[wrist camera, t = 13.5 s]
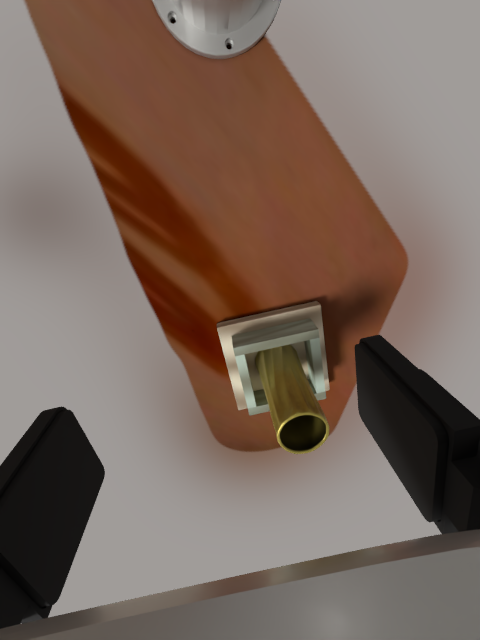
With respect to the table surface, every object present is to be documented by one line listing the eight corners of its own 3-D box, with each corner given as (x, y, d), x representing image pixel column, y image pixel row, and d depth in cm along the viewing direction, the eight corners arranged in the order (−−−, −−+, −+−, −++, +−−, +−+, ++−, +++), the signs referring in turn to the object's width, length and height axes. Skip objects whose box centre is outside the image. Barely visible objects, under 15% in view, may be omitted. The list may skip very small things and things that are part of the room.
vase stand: (216, 323, 41) (217, 339, 37) (317, 300, 41) (330, 314, 37) (237, 403, 47) (240, 426, 42) (326, 384, 47) (338, 405, 42)
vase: (305, 350, 42) (346, 421, 29) (284, 383, 44) (313, 464, 31) (267, 333, 41) (292, 400, 28) (247, 369, 43) (261, 447, 30)
